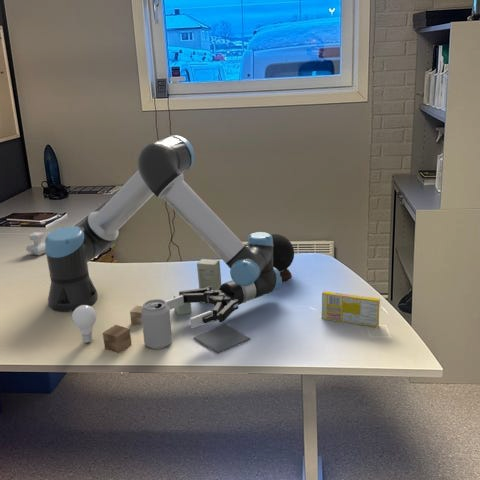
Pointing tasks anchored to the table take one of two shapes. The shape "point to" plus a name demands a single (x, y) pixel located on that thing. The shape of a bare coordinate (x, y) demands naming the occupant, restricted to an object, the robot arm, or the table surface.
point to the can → (156, 324)
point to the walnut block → (117, 338)
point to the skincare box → (209, 274)
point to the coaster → (221, 338)
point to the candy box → (350, 309)
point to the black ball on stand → (282, 255)
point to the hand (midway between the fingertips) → (176, 314)
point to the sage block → (183, 307)
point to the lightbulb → (85, 321)
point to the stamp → (36, 244)
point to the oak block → (136, 315)
